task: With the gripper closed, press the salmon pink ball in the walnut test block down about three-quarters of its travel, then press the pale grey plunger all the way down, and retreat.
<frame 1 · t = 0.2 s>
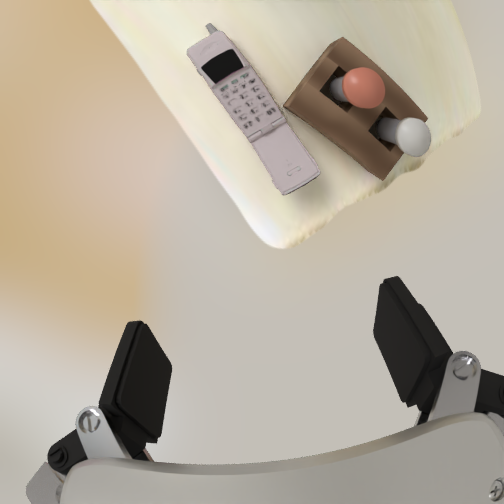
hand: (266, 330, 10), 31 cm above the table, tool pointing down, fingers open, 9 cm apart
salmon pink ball: (352, 88, 25), point 8 cm above the table, slide at 0.0 cm
grey plunger: (400, 132, 27), point 8 cm above the table, slide at 0.0 cm
mobile phone: (247, 101, 33), on the table
test block: (352, 107, 33), on the table
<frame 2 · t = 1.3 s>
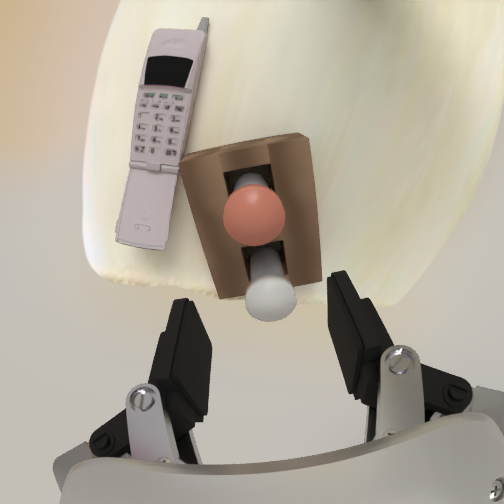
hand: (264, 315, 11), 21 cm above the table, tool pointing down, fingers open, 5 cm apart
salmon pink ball: (252, 201, 23), point 8 cm above the table, slide at 0.0 cm
grey plunger: (267, 278, 27), point 8 cm above the table, slide at 0.0 cm
mobile phone: (165, 123, 26), on the table
test block: (256, 209, 32), on the table
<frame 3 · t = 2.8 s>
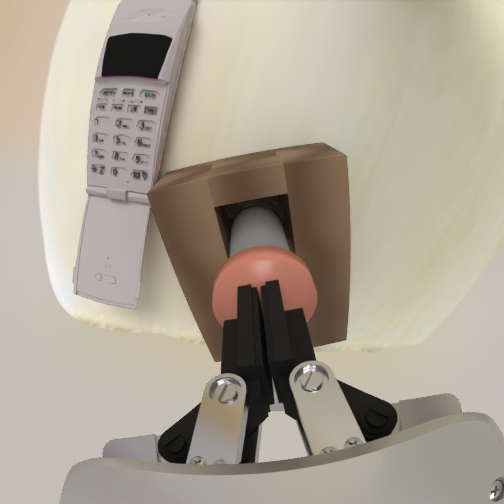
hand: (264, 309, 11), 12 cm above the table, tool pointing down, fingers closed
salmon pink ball: (260, 259, 14), point 8 cm above the table, slide at 0.0 cm, touching gripper
grey plunger: (279, 353, 18), point 8 cm above the table, slide at 0.0 cm
mobile phone: (136, 130, 18), on the table
test block: (262, 247, 23), on the table
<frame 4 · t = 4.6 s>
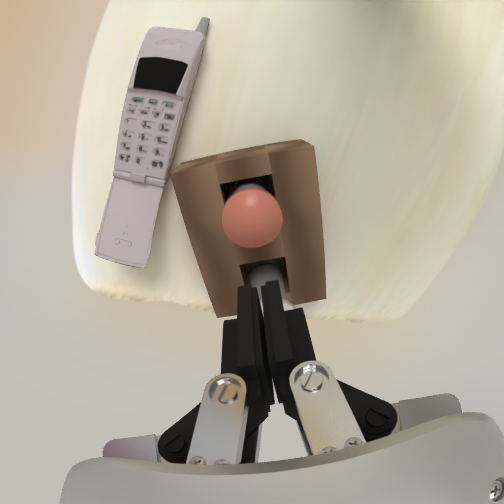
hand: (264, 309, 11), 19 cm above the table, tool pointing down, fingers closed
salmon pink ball: (250, 204, 23), point 5 cm above the table, slide at 2.9 cm
grey plunger: (268, 299, 24), point 8 cm above the table, slide at 0.0 cm
mobile phone: (154, 130, 24), on the table
test block: (255, 222, 29), on the table
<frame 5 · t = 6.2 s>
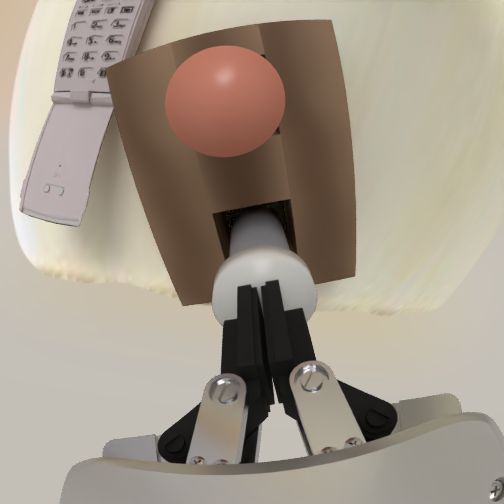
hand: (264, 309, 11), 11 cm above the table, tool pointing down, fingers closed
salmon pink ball: (228, 101, 12), point 5 cm above the table, slide at 2.9 cm
grey plunger: (260, 259, 14), point 7 cm above the table, slide at 1.1 cm, touching gripper
mobile phone: (112, 41, 13), on the table
test block: (243, 156, 18), on the table
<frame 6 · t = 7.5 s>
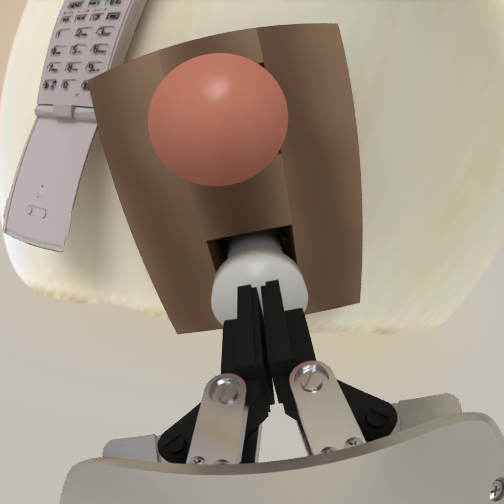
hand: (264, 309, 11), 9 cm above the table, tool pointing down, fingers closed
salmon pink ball: (223, 116, 11), point 5 cm above the table, slide at 2.9 cm
grey plunger: (255, 262, 15), point 4 cm above the table, slide at 3.8 cm
mobile phone: (99, 50, 12), on the table
test block: (241, 174, 17), on the table
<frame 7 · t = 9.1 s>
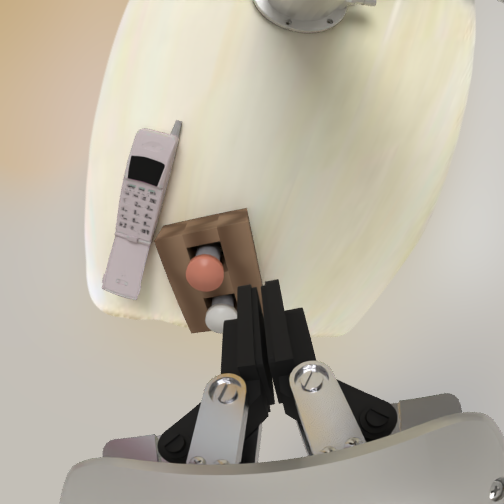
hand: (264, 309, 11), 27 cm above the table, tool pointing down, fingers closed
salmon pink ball: (207, 260, 35), point 5 cm above the table, slide at 2.9 cm
grey plunger: (222, 305, 39), point 4 cm above the table, slide at 3.8 cm
mobile phone: (143, 203, 36), on the table
test block: (217, 266, 41), on the table
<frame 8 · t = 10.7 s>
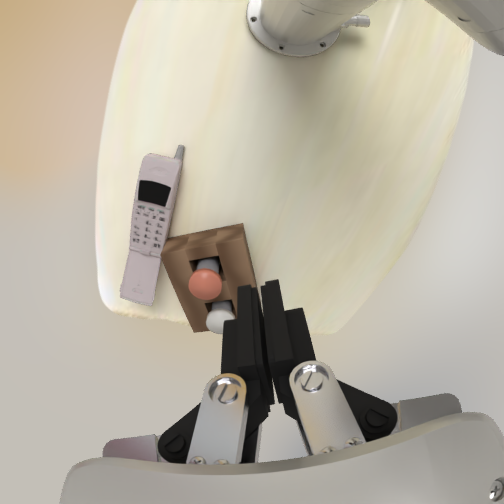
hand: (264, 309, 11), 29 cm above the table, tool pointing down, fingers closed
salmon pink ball: (207, 271, 39), point 5 cm above the table, slide at 2.9 cm
grey plunger: (221, 308, 44), point 4 cm above the table, slide at 3.8 cm
mobile phone: (153, 219, 41), on the table
test block: (217, 273, 46), on the table
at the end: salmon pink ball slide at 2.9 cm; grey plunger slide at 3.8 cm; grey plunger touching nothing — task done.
